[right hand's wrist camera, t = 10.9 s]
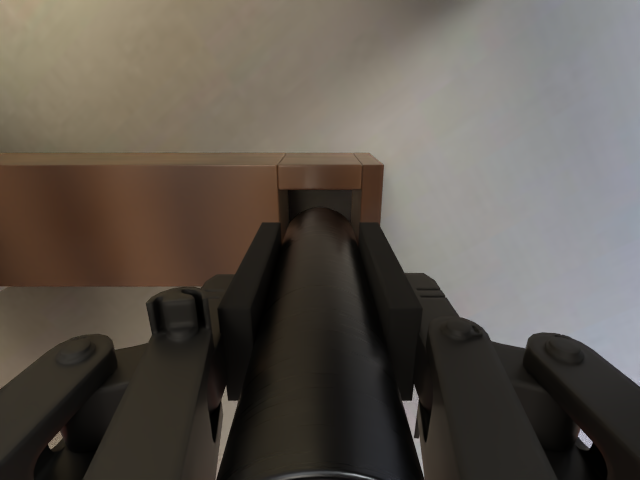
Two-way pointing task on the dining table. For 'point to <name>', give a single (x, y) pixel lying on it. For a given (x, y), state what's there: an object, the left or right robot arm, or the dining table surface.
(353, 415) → the peg
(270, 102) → the dining table surface
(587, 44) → the dining table surface
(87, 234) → the peg rail
